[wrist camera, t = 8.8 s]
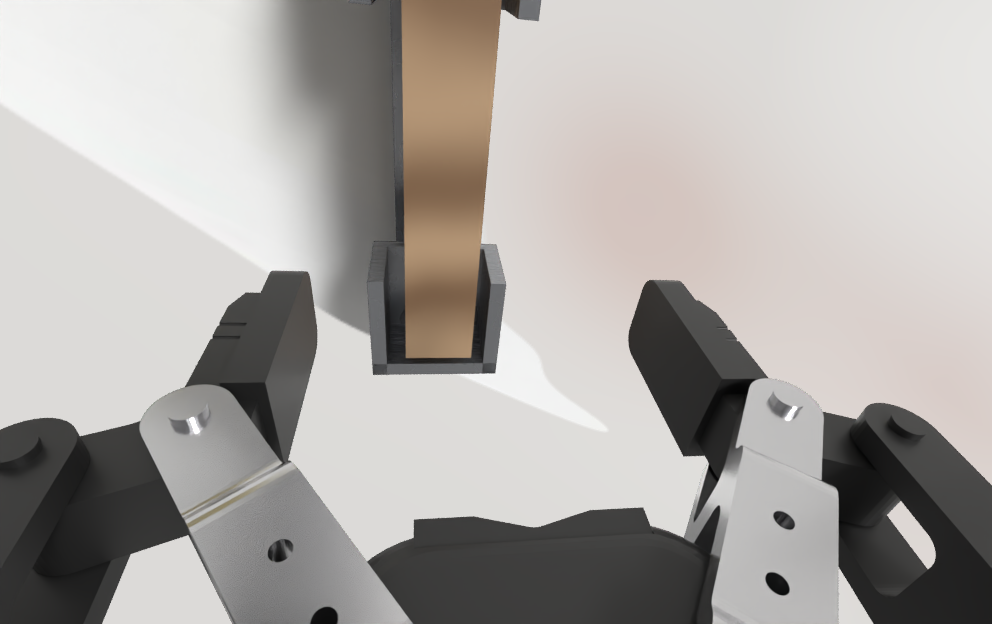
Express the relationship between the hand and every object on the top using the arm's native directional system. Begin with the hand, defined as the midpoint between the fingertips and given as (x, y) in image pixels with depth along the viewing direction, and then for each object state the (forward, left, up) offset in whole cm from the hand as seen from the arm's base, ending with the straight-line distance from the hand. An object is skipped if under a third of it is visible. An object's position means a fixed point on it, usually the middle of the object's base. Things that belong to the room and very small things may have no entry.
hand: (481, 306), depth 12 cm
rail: (+1, 0, -16) cm, 16 cm away
